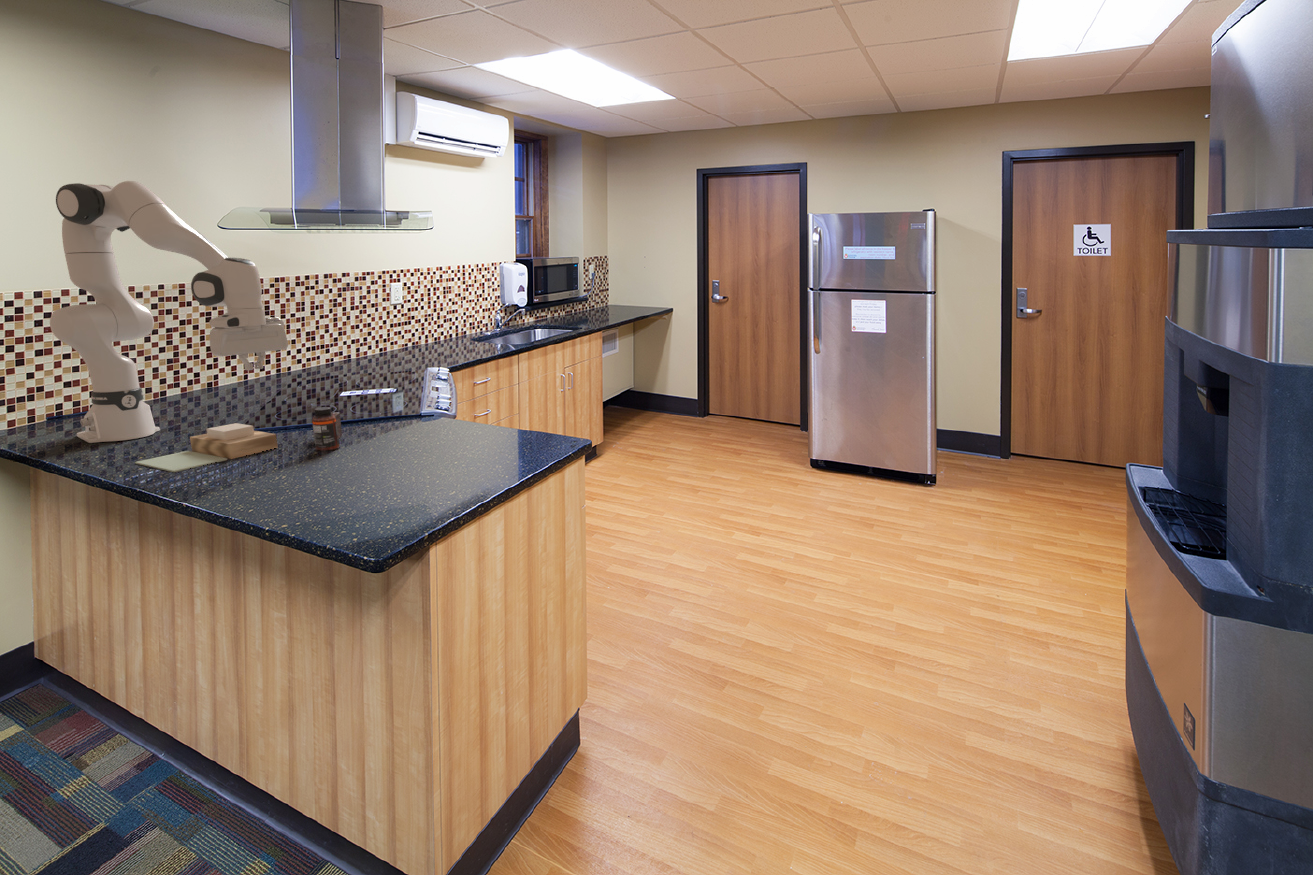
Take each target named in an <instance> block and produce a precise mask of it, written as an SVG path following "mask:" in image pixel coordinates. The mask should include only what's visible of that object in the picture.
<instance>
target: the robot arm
mask: <svg viewBox="0 0 1313 875" xmlns="http://www.w3.org/2000/svg"><path fill="white" fill-rule="evenodd" d="M55 204H56V208H57V210H58V212H59V214H60V215H61V217H63V219H62V222H61V224H62V225H61V236H62V245H63V246H62V247H63V252H64V257H65V261H66V265H67V266H66V267H67V270H68V274H69V279H70V281H71V282H72V284H73V285H74V286H76V288H79V289H81V290H84V291H86V292H88V293H89V294H90V295H91V296H92V297H93V299H94V300H95V303H91V304H90V303H89V304H86V303H85V304H73V305H70V306H64V307H61V308H57V309H55V310H54V311H53V312H52V314H51V316H50V318H49V327H50V330H51V333H52V334H53V335H54V336H55V337H56V338H57V340H59V341H60V342H62V343H63V344H66V345H68V346H69V347H70V348H72V349H73V350H74V351H76V353H78V354H79V357H81V358H82V360H83V361H84V363H85V365H86V367H87V371H88V374H89V378H90V382H91V387H92V391H91V392H90V393H91V396H90V398H91V403H92V405H91V406H90V407H89V410H88V411H87V412H86V414H85V415H84V416H83V418H81V419H80V424H81V427H82V428H84V427H85V430H83V431H79V432H77V433H76V437H78V438H79V439H81V440H83V441H84V442H87V443H88V444H93V443H102V442H104V443H105V442H118V441H120V442H121V441H128V440H136V439H139V438H140V439H141V438H144V437H149V436H151V435H154V434H155V433H156V432H159V431H161V428H160V427H159V426H156V425H155V422H154V418H153V414H152V410H151V406H150V405H149V404H148V403H146V402H145V400H144V392H143V389H142V387H140V380H139V374H138V372H137V370H138V369H137V365H136V363H135V361H134V360H133V359H131V358H130V357H129V356H128V357H127V356H125V355H123V354H120V353H118V352H117V351H116V349H115V347H114V346H113V342H124V341H125V342H126V341H133V340H137V339H140V338H144V337H147V336H149V335H150V334H151V333H152V332H153V331H154V330H153V329H154V326H155V320H154V316H153V314H152V313H151V311H150V310H149V309H148V308H147V307H146V306H145V305H143V304H141V303H140V302H138V301H137V300H136V299H135V298H133V296H131V294H130V293H129V292H128V290H127V289H126V287H125V286H124V284H123V282H122V279H121V277H120V273H119V270H118V266H117V262H116V261H117V260H116V257H115V253H114V247H113V245H112V234H113V232H114V231H115V230H117V231H119V232H121V233H123V232H126V231H127V230H129V229H130V230H131V231H132V232H133V233H134V234H135V235H136V236H137V238H138V239H141V241H143V242H144V243H146V244H147V245H148V246H150V247H152V248H153V249H157V250H160V251H166V252H171V253H175V254H178V255H179V254H180V255H183V256H186V257H189V258H191V259H193V260H196V261H198V262H199V263H200V264H202V266H204V267H205V268H206V269H207V270H204V271H201V272H197V273H195V275H194V276H193V278H192V280H191V284H190V289H191V294H192V296H193V297H194V299H195V300H196V301H197V302H198V303H199V304H200V305H202V306H204V307H210V308H212V307H213V308H217V307H226V311H227V312H225V313H223V314H221V315H219V316H216V317H213V318H211V319H210V320H209V326H210V327H211V330H210V332H209V346H210V348H209V349H210V352H211V354H212V355H213V356H215V357H227V356H236V355H238V356H237V357H238V359H239V360H240V361H241V362H242V364H243V366H244V370H245V371H253V370H254V369H255V370H261V369H264V361H265V359H266V357H267V355H266V353H267V352H273V351H285V350H287V349H288V347H289V341H288V337H287V334H286V329H285V323H284V321H283V320H282V319H281V318H279V317H277V316H274V317H266V313H265V306H264V304H263V303H264V302H263V300H262V293H263V290H262V283H261V278H260V274H259V270H258V267H257V265H256V264H255V262H254V261H252V260H249V259H245V258H241V257H240V258H239V257H228V255H226V254H225V253H224V252H223V251H222V250H221V249H220V248H219V247H217V246H216V245H215V244H214V243H213V242H211V241H210V240H209V239H208V238H207V237H206V236H204V235H203V234H201V233H200V232H199V231H197V230H196V229H194V228H193V227H192V226H190V225H189V224H187V223H186V222H185V221H184V220H183V219H182V218H180V217H179V216H178V215H177V214H176V213H175V212H174V211H173V210H172V209H171V208H170V207H169V206H168V205H167V204H166V203H165V202H164V201H163V200H162V199H161V198H160V197H159V196H158V195H157V194H155V193H154V192H153V191H152V190H151V189H149V188H148V187H146V186H145V185H144V184H142V183H140V182H138V181H134V180H126V181H122V182H119V183H117V184H115V186H113V185H107V184H84V183H80V182H79V183H68V184H65V185H64V184H63V186H61V187H59V188H58V190H57V192H56V196H55ZM249 354H256V356H257V360H256V362H251V363H250V361H249V360H248V358H249Z"/></svg>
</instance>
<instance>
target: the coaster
mask: <svg viewBox="0 0 1313 875" xmlns="http://www.w3.org/2000/svg"><path fill="white" fill-rule="evenodd" d="M254 431H255V429H254V425H250V424H244V423H243V424H242V423H238V422H234V423H229V424H226V425H225V424H224V425H219V426H214V427H209V428H206V434H207V435H208V438H214V439H219V440H230V439H235V438H240V437H245V436H249V435H254Z"/></svg>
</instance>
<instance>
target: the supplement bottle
mask: <svg viewBox="0 0 1313 875" xmlns="http://www.w3.org/2000/svg"><path fill="white" fill-rule="evenodd" d="M331 413H332V408H331V407H327V406H323V407H317V408H316V407H315V408H314V416H315V417H314V416H313V417H312V420H311V421H312V423H311V424H312V429H313V438H314V445H315V450H317V451H321V452H325V451H326V452H327V451H333V450H336V449H337V450H338V448H339V447H340V439H338V431H337V423H336V417H335V416H334V415H332V414H331Z"/></svg>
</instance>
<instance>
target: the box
mask: <svg viewBox="0 0 1313 875" xmlns="http://www.w3.org/2000/svg"><path fill="white" fill-rule="evenodd" d="M331 414H332V415H334V416H335V417H336V423H337V431H338V439H339V440H340V439H341V438H342V437H343V432H342V423H341V422H342V421H341V413H340V412H331ZM313 417H315V415H314V416H313ZM341 436H342V437H341Z"/></svg>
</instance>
